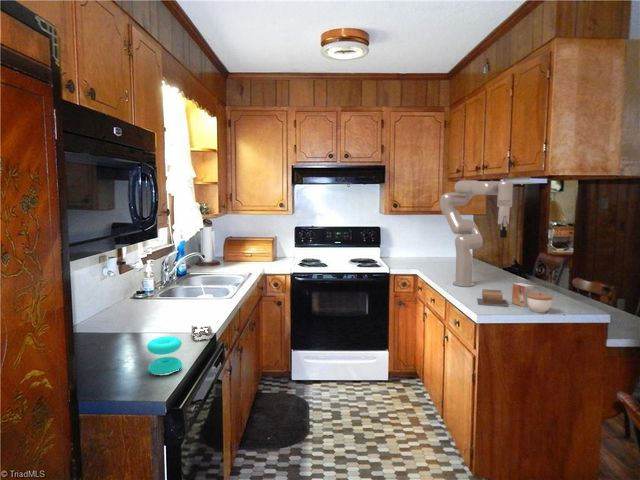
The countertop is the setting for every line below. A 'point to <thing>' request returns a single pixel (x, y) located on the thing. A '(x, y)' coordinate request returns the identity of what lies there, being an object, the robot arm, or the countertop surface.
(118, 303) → the countertop surface
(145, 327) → the countertop surface
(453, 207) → the robot arm
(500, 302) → the slab
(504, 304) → the mat
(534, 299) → the lidded jar
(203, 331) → the egg carton
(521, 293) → the small box
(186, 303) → the countertop surface
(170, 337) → the donuts
